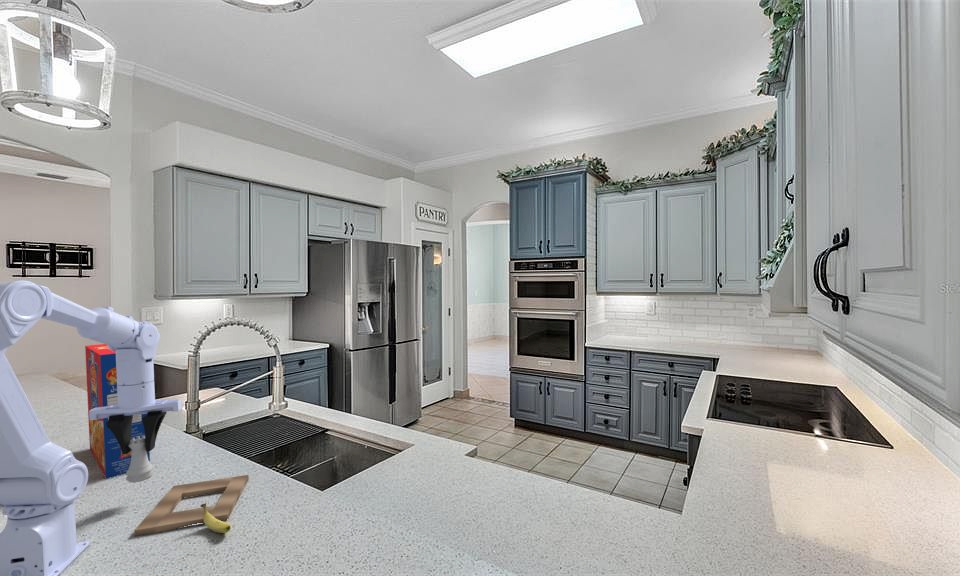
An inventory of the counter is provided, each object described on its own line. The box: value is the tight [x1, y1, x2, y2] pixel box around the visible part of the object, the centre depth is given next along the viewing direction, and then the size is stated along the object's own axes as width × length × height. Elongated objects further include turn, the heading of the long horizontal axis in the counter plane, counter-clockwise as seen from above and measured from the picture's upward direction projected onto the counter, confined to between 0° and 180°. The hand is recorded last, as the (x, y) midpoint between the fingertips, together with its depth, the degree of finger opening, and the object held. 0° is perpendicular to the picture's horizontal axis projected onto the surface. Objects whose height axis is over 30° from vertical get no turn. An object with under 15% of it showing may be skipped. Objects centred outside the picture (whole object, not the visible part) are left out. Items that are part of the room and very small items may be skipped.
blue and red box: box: [84, 343, 151, 480], centre depth 108 cm, size 28×8×28 cm, turn 48°
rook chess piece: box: [125, 436, 155, 483], centre depth 84 cm, size 4×4×8 cm
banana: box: [199, 502, 232, 534], centre depth 73 cm, size 8×2×4 cm, turn 61°
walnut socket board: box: [134, 474, 250, 537], centre depth 83 cm, size 17×14×1 cm
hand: (138, 451), depth 84 cm, fingers closed on rook chess piece, 3 cm apart
